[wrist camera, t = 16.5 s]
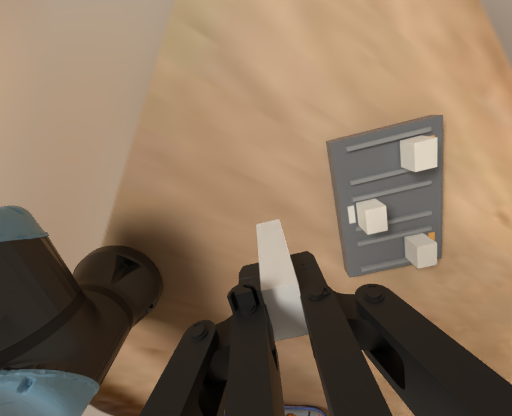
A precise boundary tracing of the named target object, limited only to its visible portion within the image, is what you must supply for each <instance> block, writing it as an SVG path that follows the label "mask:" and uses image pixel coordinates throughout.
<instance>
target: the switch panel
mask: <svg viewBox="0 0 512 416" xmlns="http://www.w3.org/2000/svg"><path fill="white" fill-rule="evenodd" d="M420 135H422V136H430V137H437V167H435V168H431V169H426V170H422V171H418V172H413V171H410V170H408V169H405V168H402V167H401V157H400V140H404V139H408V138H412V137H416V136H420ZM326 144H327V151H328V158H329V165H330V172H331V179H332V186H333V192H334V199H335V206H336V213H337V220H338V227H339V234H340V240H341V247H342V254H343V261H344V268H345V271H346V272H347V274H348V276H349V277H355V276H359V275H364V274H369V273H373V272H378V271H383V270H388V269H392V268H397V267H402V266H407V265H411V264H412V263H411V262H410V261H409V260H408V259H407V258H406V257H405V241H404V237H406V236H410V235H415V234H419V233H424V234H425V235H427V236H428V237H429V238H431V239H432V240H434V241H435V242H437V259H440V258H441V250H442V150H443V115H429V116H425V117H421V118H417V119H413V120H409V121H405V122H401V123H397V124H393V125H390V126H386V127H382V128H378V129H374V130H370V131H366V132H362V133H358V134H354V135H350V136H346V137H342V138H338V139H334V140H330V141H326ZM374 198H375V199H377V200H378V201H380V202H381V203H383V204H384V205H386V211H387V225H388V230H387V231H383V232H378V233H374V234H369V235H367V234H366V233H365V231H364V230H363V229H362V228H361V227H360V226H359V225H358V216H357V208H356V203H357V202H361V201H365V200H370V199H374Z"/></svg>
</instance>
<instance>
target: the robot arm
mask: <svg viewBox="0 0 512 416" xmlns="http://www.w3.org/2000/svg"><path fill="white" fill-rule="evenodd" d="M256 227H257V241H258V255H259V263H255V264H251V265H246V266H243V267H242V269H241V271H240V272H239V285H237V286H235V287H234V288H232V289H231V290H230V292H229V293H228V296H227V298H228V300H229V303H230V306H231V309H232V312H233V315H232V316H231V317H229V318H228V319H227V320H225V321H223V322H221V323H219V324H217V325H215V324H214V323H213V322H212V321H209V320H203V321H199V322H197V323H195V324H193V325H192V326H190V327H189V328H188V329H187V330H186V332H185V333H184V335H183V337H182V338H181V340H180V342H179V344H178V346H177V348H176V349H175V351H174V353H173V355H172V357H171V359H170V360H169V362H168V364H167V366H166V368H165V370H164V371H163V373H162V375H161V377H160V379H159V380H158V382H157V384H156V386H155V388H154V390H153V391H152V393H151V395H150V397H149V399H148V401H147V402H146V404H145V406H144V408H143V410H142V412H141V413H140V415H139V416H223V414H224V410H225V416H285V410H284V402H283V394H282V386H281V378H280V370H279V362H278V354H277V349H276V346H275V341H279V340H283V339H288V338H293V337H298V336H303V335H308V334H309V337H310V341H311V346H312V350H313V355H314V358H315V361H316V364H317V368H318V372H319V375H320V379H321V383H322V387H323V390H324V394H325V398H326V401H327V405H328V409H329V413H330V416H392V414H391V412H390V409H389V407H388V405H387V403H386V401H385V399H384V397H383V395H382V393H381V390H380V388H379V386H378V384H377V382H376V380H375V378H374V376H373V374H372V372H371V369H370V367H369V365H368V363H367V361H366V359H365V357H364V355H363V353H362V351H361V350H363V351H364V353H365V354H366V355H367V357H368V358H369V359H370V360H371V362H372V363H373V364H374V365H375V367H376V368H377V369H378V370H379V372H380V373H381V374H382V375H383V377H384V378H385V379H386V380H387V382H388V383H389V384H390V385H391V387H392V388H393V389H394V390H395V391H396V393H397V394H398V395H399V396H400V398H401V399H402V400H403V401H404V403H405V404H406V405H407V406H408V408H409V409H410V410H411V411H412V413H413V414H414V415H415V416H512V385H511V384H510V383H509V382H508V381H506V380H505V379H504V378H502V377H501V376H500V375H499V374H497V373H496V372H495V371H493V370H492V369H491V368H490V367H488V366H487V365H486V364H484V363H483V362H482V361H481V360H479V359H478V358H477V357H475V356H474V355H473V354H472V353H470V352H469V351H468V350H466V349H465V348H464V347H463V346H461V345H460V344H459V343H457V342H456V341H455V340H454V339H452V338H451V337H450V336H448V335H447V334H446V333H445V332H443V331H442V330H441V329H439V328H438V327H437V326H436V325H434V324H433V323H432V322H430V321H429V320H428V319H427V318H425V317H424V316H423V315H421V314H420V313H419V312H418V311H416V310H415V309H414V308H412V307H411V306H410V305H409V304H407V303H406V302H405V301H403V300H402V299H401V298H400V297H398V296H397V295H396V294H395V293H393V292H392V291H391V290H389V289H388V288H386V287H384V286H382V285H378V284H366V285H362V286H361V287H359V288H358V289H357V290H356V292H355V294H341V293H337V292H335V291H333V290H332V289H331V288H330V287H329V286H328V285H327V283H326V281H325V279H324V277H323V275H322V272H321V270H320V268H319V266H318V264H317V262H316V260H315V257H314V255H312V254H311V253H309V252H308V251H305V252H301V253H297V254H292V255H290V254H289V251H288V247H287V244H286V241H285V237H284V234H283V230H282V227H281V224H280V220H279V219H277V220H273V221H269V222H264V223H260V224H256ZM48 236H49V235H48V233H47V232H44V231H43V229H42V228H41V227H40V226H39V224H38V223H37V222H36V220H35V219H34V217H33V216H32V215H31V213H30V212H28V211H27V210H26V209H24V208H22V207H19V206H3V207H0V416H81V415H82V414H83V412H84V410H85V409H86V407H87V406H88V404H89V403H90V401H91V399H92V398H93V396H94V395H96V394H97V392H98V390H99V387H100V386H101V384H102V382H103V380H104V378H105V376H106V374H107V373H108V371H109V369H110V367H111V365H112V363H113V361H114V360H115V358H116V356H117V354H118V352H119V350H120V348H121V347H122V345H123V343H124V341H125V339H126V337H127V335H128V333H129V332H130V330H131V328H132V327H134V326H135V325H136V324H137V323H138V322H139V321H140V320H141V319H143V318H144V317H145V316H146V315H147V314H148V313H149V312H150V311H151V310H152V309H153V308H154V307H155V305H156V303H157V301H158V299H159V297H160V295H161V292H162V278H161V275H160V273H159V271H158V269H157V267H156V266H155V265H154V263H153V262H152V261H151V260H150V259H149V258H147V257H146V256H145V255H143V254H142V253H140V252H138V251H136V250H134V249H131V248H128V247H123V246H105V247H101V248H98V249H96V250H94V251H93V252H91V253H89V254H88V255H87V256H86V257H85V258H84V259H82V260H81V261H80V263H79V264H78V265H77V267H76V268H75V270H74V272H73V275H72V274H71V272H70V270H69V269H68V267H67V266H66V264H65V263H64V261H63V260H62V258H61V257H60V255H59V254H58V252H57V250H56V249H55V247H54V246H53V244H52V242H51V241H50V239H49V237H48ZM274 338H275V341H274Z"/></svg>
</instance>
